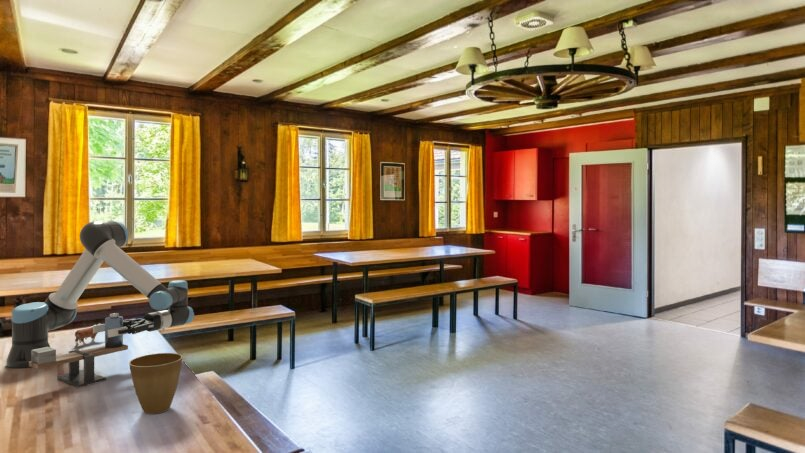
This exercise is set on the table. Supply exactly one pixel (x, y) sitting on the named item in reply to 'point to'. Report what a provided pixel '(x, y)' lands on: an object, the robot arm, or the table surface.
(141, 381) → the plant pot
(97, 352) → the beam
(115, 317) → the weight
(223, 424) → the table surface
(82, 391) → the table surface
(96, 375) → the stand
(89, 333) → the bull figurine
